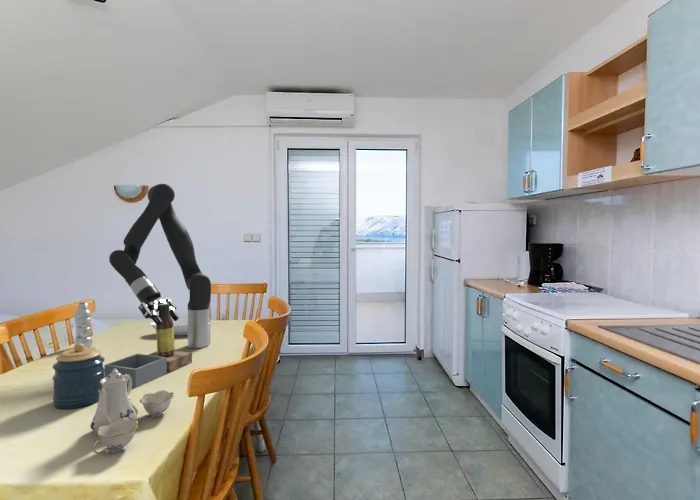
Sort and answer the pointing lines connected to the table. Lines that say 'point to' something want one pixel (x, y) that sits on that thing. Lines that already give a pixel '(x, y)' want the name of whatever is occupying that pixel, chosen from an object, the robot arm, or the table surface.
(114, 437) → the chinaware
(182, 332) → the bowl
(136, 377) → the tub
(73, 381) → the canister
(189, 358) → the block
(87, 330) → the plastic bottle
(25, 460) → the table surface
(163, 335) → the sauce bottle
